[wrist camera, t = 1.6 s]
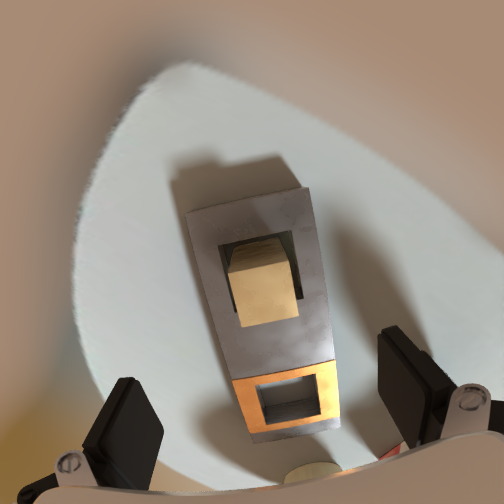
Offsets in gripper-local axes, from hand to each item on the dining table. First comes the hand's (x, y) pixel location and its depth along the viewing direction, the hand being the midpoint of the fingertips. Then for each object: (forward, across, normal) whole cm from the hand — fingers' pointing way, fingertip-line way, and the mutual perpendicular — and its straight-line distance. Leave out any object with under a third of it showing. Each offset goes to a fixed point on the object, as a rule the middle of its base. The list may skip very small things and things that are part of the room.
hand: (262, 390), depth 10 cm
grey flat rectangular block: (+18, -1, +7) cm, 19 cm away
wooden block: (+18, -1, 0) cm, 18 cm away
